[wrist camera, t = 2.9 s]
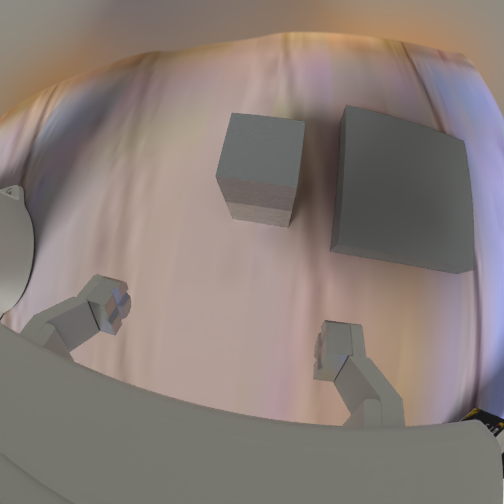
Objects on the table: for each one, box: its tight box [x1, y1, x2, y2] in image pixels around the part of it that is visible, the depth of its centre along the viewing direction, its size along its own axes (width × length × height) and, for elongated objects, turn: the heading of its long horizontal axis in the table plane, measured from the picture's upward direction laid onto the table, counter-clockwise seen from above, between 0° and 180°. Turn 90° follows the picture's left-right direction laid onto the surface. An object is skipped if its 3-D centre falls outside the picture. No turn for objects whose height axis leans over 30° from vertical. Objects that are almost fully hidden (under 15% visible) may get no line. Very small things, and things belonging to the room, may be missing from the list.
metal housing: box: [215, 113, 305, 228], centre depth 22 cm, size 5×5×9 cm
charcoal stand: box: [330, 105, 474, 274], centre depth 24 cm, size 14×14×3 cm
